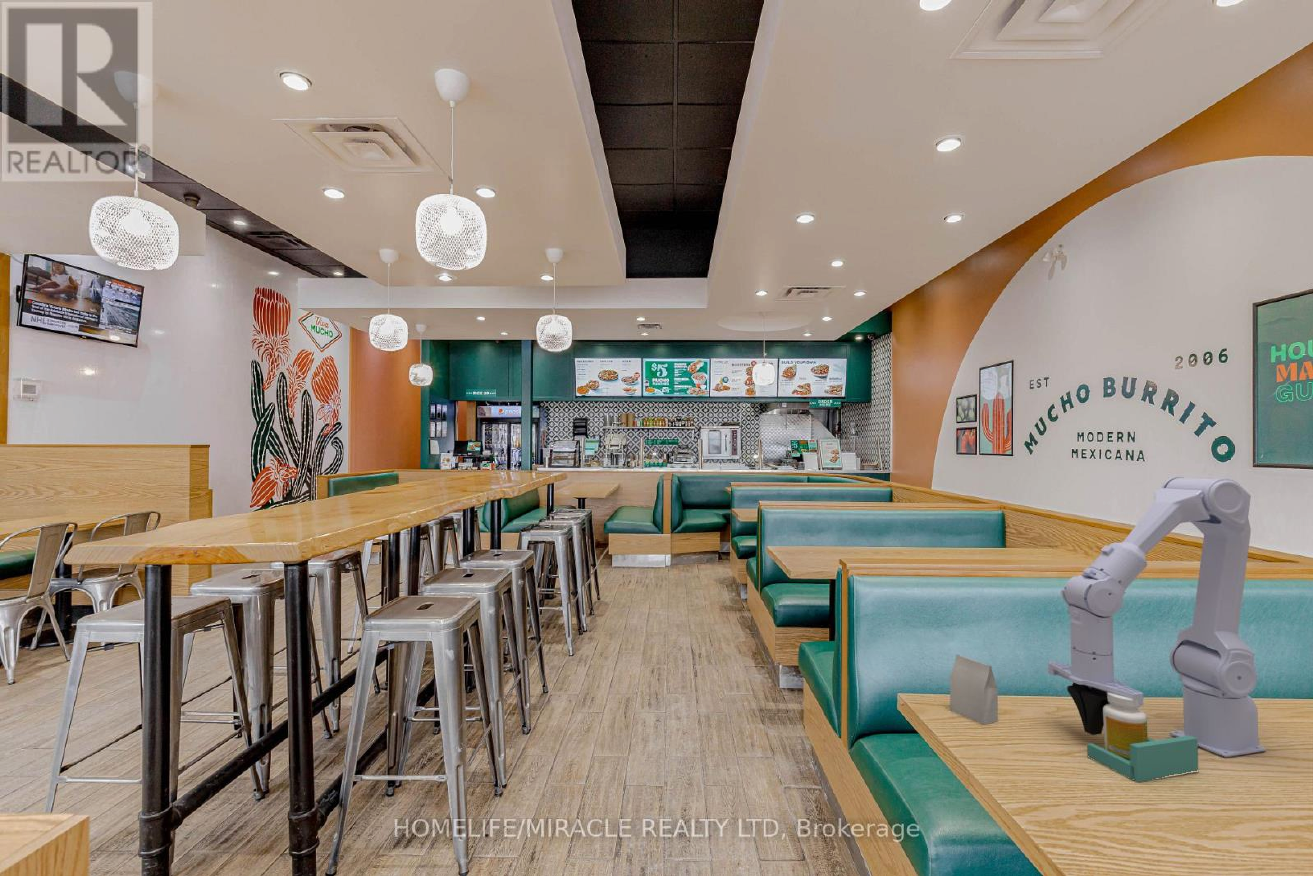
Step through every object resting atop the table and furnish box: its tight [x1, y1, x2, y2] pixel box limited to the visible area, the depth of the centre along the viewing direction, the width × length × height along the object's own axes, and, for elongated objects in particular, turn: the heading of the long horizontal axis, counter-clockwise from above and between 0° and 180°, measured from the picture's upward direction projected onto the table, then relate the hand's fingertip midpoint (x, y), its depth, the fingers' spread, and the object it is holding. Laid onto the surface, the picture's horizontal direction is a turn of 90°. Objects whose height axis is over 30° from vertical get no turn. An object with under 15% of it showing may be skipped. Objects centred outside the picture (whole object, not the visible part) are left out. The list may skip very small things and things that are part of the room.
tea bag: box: [949, 654, 999, 726], centre depth 105 cm, size 4×7×10 cm, turn 25°
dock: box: [1086, 736, 1199, 783], centre depth 89 cm, size 12×8×5 cm, turn 105°
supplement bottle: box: [1103, 692, 1149, 761], centre depth 91 cm, size 5×5×10 cm
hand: (1093, 732), depth 96 cm, fingers closed
